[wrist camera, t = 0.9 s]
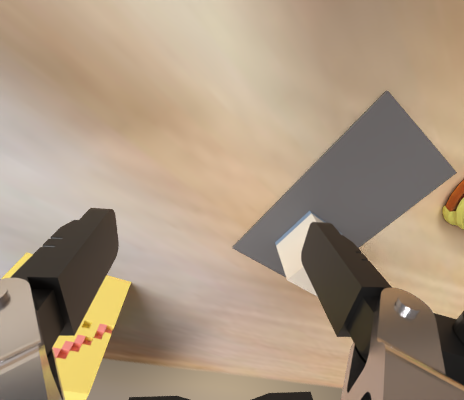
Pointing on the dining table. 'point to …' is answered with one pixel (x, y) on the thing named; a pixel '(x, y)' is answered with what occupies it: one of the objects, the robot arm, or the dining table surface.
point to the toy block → (86, 337)
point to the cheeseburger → (455, 207)
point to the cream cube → (296, 251)
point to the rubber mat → (356, 182)
